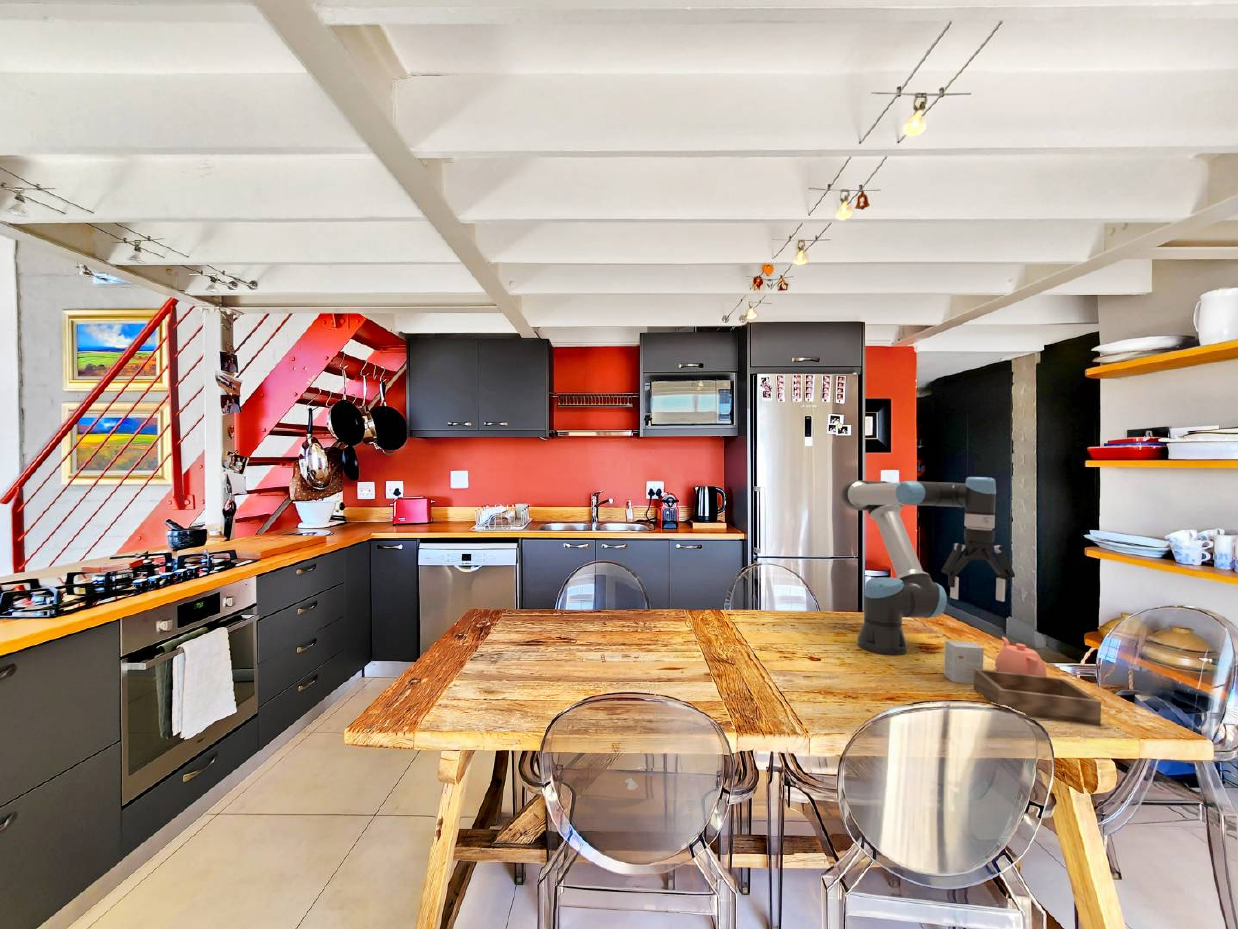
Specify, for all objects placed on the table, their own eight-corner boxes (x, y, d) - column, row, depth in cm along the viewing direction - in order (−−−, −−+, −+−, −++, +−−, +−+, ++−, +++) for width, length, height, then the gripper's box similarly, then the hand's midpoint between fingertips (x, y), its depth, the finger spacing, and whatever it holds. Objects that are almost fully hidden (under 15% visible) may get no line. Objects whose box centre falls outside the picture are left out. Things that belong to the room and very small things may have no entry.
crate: (999, 712, 133) (1000, 690, 133) (973, 688, 148) (974, 668, 148) (1100, 725, 128) (1101, 702, 128) (1062, 699, 143) (1063, 678, 143)
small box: (972, 677, 156) (973, 641, 156) (983, 685, 151) (984, 648, 151) (943, 675, 157) (944, 640, 157) (953, 683, 151) (954, 646, 152)
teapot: (1012, 684, 153) (1013, 651, 153) (981, 662, 170) (982, 633, 170) (1059, 689, 150) (1060, 655, 150) (1024, 666, 168) (1024, 636, 168)
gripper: (944, 528, 156) (942, 600, 155) (1031, 531, 155) (1028, 604, 155) (930, 525, 163) (927, 594, 163) (1012, 529, 162) (1010, 598, 162)
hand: (977, 599), depth 159 cm, fingers open, 13 cm apart
